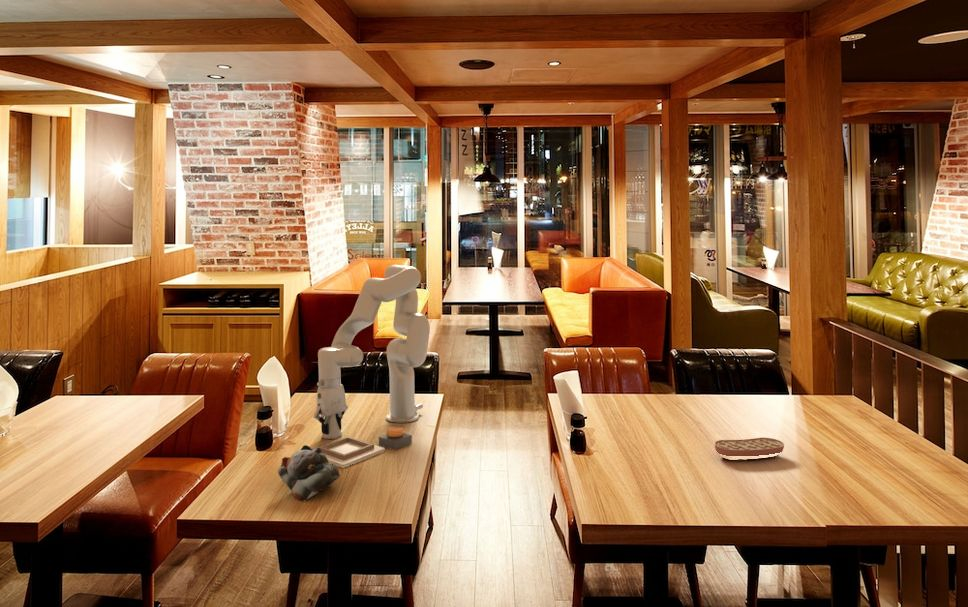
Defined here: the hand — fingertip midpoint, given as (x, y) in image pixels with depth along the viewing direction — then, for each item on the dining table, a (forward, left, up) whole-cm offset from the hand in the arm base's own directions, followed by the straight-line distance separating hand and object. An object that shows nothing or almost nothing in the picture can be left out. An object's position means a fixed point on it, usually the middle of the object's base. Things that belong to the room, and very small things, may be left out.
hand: (331, 431), depth 230 cm
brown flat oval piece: (-69, +126, -2) cm, 143 cm away
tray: (+8, +17, -2) cm, 19 cm away
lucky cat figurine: (+34, +31, -2) cm, 46 cm away
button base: (-8, +24, -2) cm, 25 cm away
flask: (0, 0, -2) cm, 2 cm away
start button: (-8, +24, -1) cm, 25 cm away
